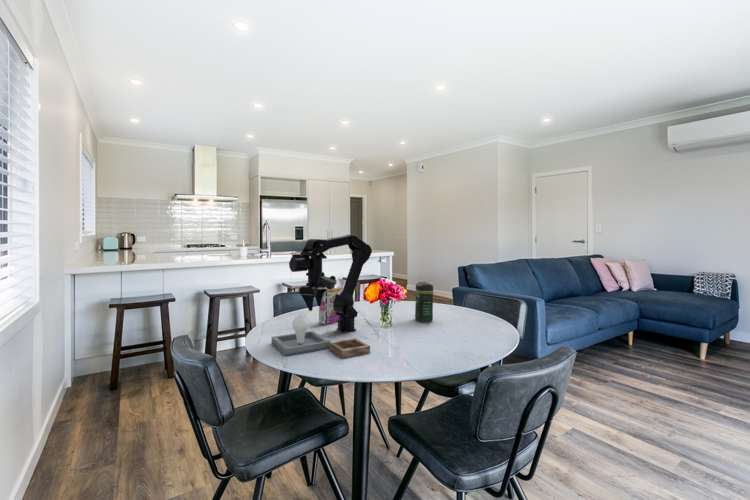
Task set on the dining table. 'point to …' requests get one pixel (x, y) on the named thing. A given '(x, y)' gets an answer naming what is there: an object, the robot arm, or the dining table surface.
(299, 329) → the lightbulb
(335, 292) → the candy bar box
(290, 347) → the tray
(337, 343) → the tray
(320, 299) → the robot arm
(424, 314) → the coffee jar
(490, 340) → the dining table surface
